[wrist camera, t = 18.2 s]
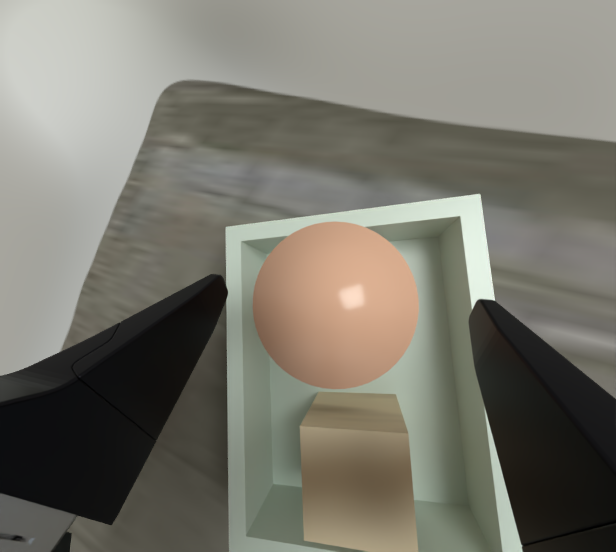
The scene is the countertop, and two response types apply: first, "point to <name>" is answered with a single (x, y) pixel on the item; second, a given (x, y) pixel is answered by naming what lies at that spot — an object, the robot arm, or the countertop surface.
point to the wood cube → (357, 473)
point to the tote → (373, 389)
